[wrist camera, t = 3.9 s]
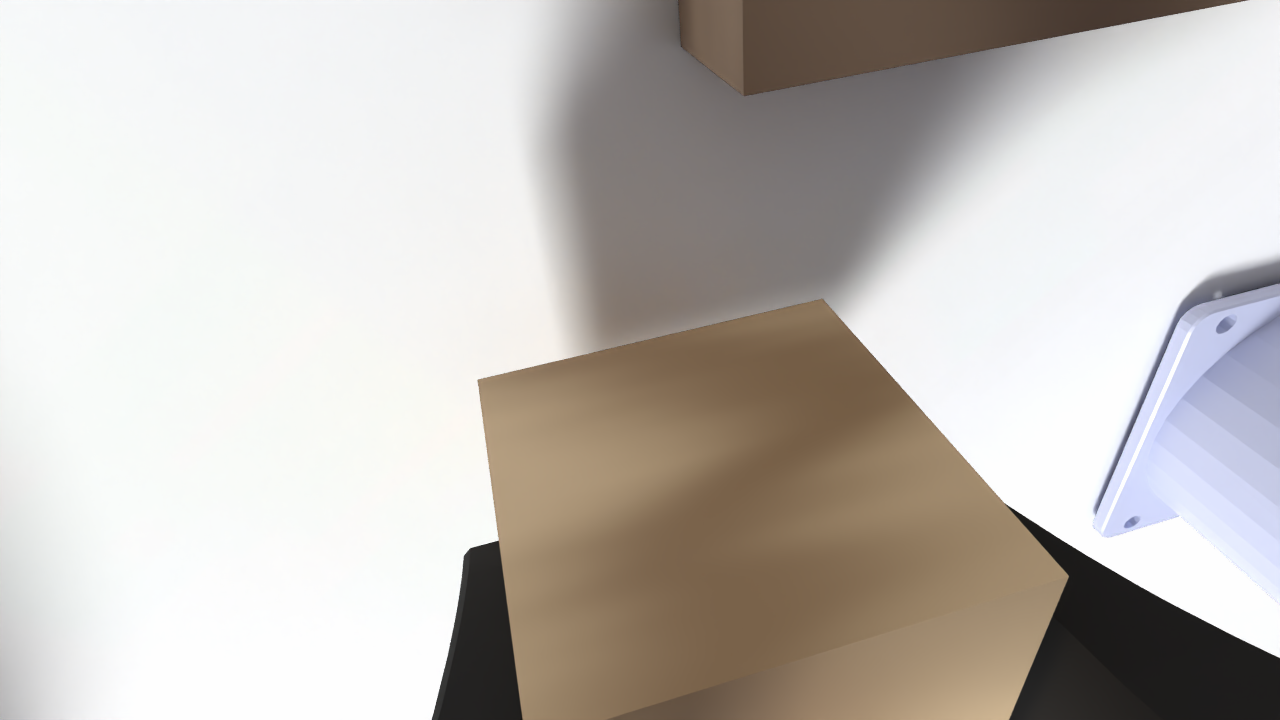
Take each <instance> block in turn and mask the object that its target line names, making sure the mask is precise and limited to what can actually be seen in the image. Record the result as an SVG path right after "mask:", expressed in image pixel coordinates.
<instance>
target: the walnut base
mask: <svg viewBox="0 0 1280 720" xmlns="http://www.w3.org/2000/svg"><path fill="white" fill-rule="evenodd" d="M1241 1H1247V0H678V5H679V21H680V38H681V47H682V48H683V49H684V50H686V51H687V52H688V53H690V54H691V55H692V56H693V57H695V58H696V59H697V60H698V61H700V62H701V63H702V64H703V65H705V66H706V67H707V68H709V69H710V70H711V71H712V72H714V73H715V74H716V75H717V76H719V77H720V78H721V79H722V80H724V81H725V82H726V83H728V84H729V85H730V86H731V87H733V88H734V89H735V90H736V91H738V92H739V93H740V94H741V95H743V96H747V95H753V94H758V93H763V92H769V91H774V90H779V89H784V88H790V87H795V86H800V85H805V84H811V83H816V82H821V81H826V80H832V79H837V78H842V77H847V76H853V75H858V74H863V73H868V72H874V71H879V70H884V69H889V68H895V67H900V66H905V65H910V64H916V63H921V62H926V61H931V60H937V59H942V58H947V57H952V56H958V55H963V54H968V53H973V52H979V51H984V50H989V49H994V48H1000V47H1005V46H1010V45H1016V44H1021V43H1026V42H1031V41H1037V40H1042V39H1047V38H1052V37H1058V36H1063V35H1068V34H1073V33H1079V32H1084V31H1089V30H1094V29H1100V28H1105V27H1110V26H1115V25H1121V24H1126V23H1131V22H1136V21H1142V20H1147V19H1152V18H1157V17H1163V16H1168V15H1173V14H1178V13H1184V12H1189V11H1194V10H1199V9H1205V8H1210V7H1215V6H1220V5H1226V4H1231V3H1236V2H1241Z"/></svg>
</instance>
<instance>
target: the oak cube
mask: <svg viewBox="0 0 1280 720" xmlns="http://www.w3.org/2000/svg"><path fill="white" fill-rule="evenodd" d="M478 386H479V394H480V401H481V409H482V417H483V424H484V432H485V439H486V447H487V454H488V462H489V469H490V477H491V484H492V492H493V500H494V507H495V515H496V522H497V530H498V537H499V545H500V552H501V560H502V568H503V575H504V583H505V590H506V598H507V605H508V613H509V620H510V628H511V635H512V643H513V651H514V658H515V666H516V673H517V681H518V688H519V696H520V703H521V711H522V719H523V720H1009V718H1010V716H1011V713H1012V711H1013V709H1014V706H1015V704H1016V702H1017V699H1018V697H1019V694H1020V692H1021V690H1022V687H1023V685H1024V682H1025V680H1026V678H1027V675H1028V673H1029V671H1030V668H1031V666H1032V663H1033V661H1034V659H1035V656H1036V654H1037V651H1038V649H1039V647H1040V644H1041V642H1042V640H1043V637H1044V635H1045V632H1046V630H1047V628H1048V625H1049V623H1050V620H1051V618H1052V616H1053V613H1054V611H1055V608H1056V606H1057V604H1058V601H1059V599H1060V597H1061V594H1062V592H1063V589H1064V587H1065V585H1066V582H1067V580H1068V577H1069V576H1068V574H1067V573H1066V572H1065V571H1064V570H1063V569H1062V568H1061V567H1060V565H1059V564H1058V563H1057V562H1056V561H1055V560H1054V559H1053V558H1052V556H1051V555H1050V554H1049V553H1048V552H1047V551H1046V550H1045V549H1044V547H1043V546H1042V545H1041V544H1040V543H1039V542H1038V541H1037V540H1036V538H1035V537H1034V536H1033V535H1032V534H1031V533H1030V532H1029V531H1028V529H1027V528H1026V527H1025V526H1024V525H1023V524H1022V523H1021V522H1020V520H1019V519H1018V518H1017V517H1016V516H1015V515H1014V514H1013V513H1012V511H1011V510H1010V509H1009V508H1008V507H1007V506H1006V505H1005V504H1004V502H1003V501H1002V500H1001V499H1000V498H999V497H998V496H997V495H996V493H995V492H994V491H993V490H992V489H991V488H990V487H989V486H988V484H987V483H986V482H985V481H984V480H983V479H982V478H981V477H980V475H979V474H978V473H977V472H976V471H975V470H974V469H973V468H972V466H971V465H970V464H969V463H968V462H967V461H966V460H965V459H964V457H963V456H962V455H961V454H960V453H959V452H958V451H957V450H956V448H955V447H954V446H953V445H952V444H951V443H950V442H949V441H948V439H947V438H946V437H945V436H944V435H943V434H942V433H941V432H940V430H939V429H938V428H937V427H936V426H935V425H934V424H933V423H932V421H931V420H930V419H929V418H928V417H927V416H926V415H925V414H924V412H923V411H922V410H921V409H920V408H919V407H918V406H917V405H916V403H915V402H914V401H913V400H912V399H911V398H910V397H909V396H908V394H907V393H906V392H905V391H904V390H903V389H902V388H901V387H900V385H899V384H898V383H897V382H896V381H895V380H894V379H893V378H892V376H891V375H890V374H889V373H888V372H887V371H886V370H885V369H884V367H883V366H882V365H881V364H880V363H879V362H878V361H877V360H876V358H875V357H874V356H873V355H872V354H871V353H870V352H869V351H868V349H867V348H866V347H865V346H864V345H863V344H862V343H861V342H860V340H859V339H858V338H857V337H856V336H855V335H854V334H853V333H852V331H851V330H850V329H849V328H848V327H847V326H846V325H845V324H844V322H843V321H842V320H841V319H840V318H839V317H838V316H837V315H836V313H835V312H834V311H833V310H832V309H831V308H830V307H829V306H828V304H827V303H826V302H825V301H824V300H823V299H819V300H815V301H811V302H807V303H802V304H798V305H794V306H790V307H785V308H781V309H777V310H773V311H768V312H764V313H760V314H756V315H751V316H747V317H743V318H738V319H734V320H730V321H726V322H721V323H717V324H713V325H709V326H704V327H700V328H696V329H692V330H687V331H683V332H679V333H675V334H670V335H666V336H662V337H658V338H653V339H649V340H645V341H641V342H636V343H632V344H628V345H624V346H619V347H615V348H611V349H606V350H602V351H598V352H594V353H589V354H585V355H581V356H577V357H572V358H568V359H564V360H560V361H555V362H551V363H547V364H543V365H538V366H534V367H530V368H526V369H521V370H517V371H513V372H509V373H504V374H500V375H496V376H491V377H487V378H483V379H479V380H478Z"/></svg>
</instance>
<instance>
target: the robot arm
mask: <svg viewBox="0 0 1280 720" xmlns="http://www.w3.org/2000/svg"><path fill="white" fill-rule="evenodd" d="M1004 504H1005V503H1004ZM1005 505H1006V504H1005ZM1006 506H1007V507H1008V508H1009V509H1010V510H1011V511H1012V513H1013V514H1014V515H1015V516H1016V517H1017V518H1018V519H1019V520H1020V522H1021V523H1022V524H1023V525H1024V526H1025V527H1026V528H1027V529H1028V531H1029V532H1030V533H1031V534H1032V535H1033V536H1034V537H1035V538H1036V540H1037V541H1038V542H1039V543H1040V544H1041V545H1042V546H1043V547H1044V549H1045V550H1046V551H1047V552H1048V553H1049V554H1050V555H1051V556H1052V558H1053V559H1054V560H1055V561H1056V562H1057V563H1058V564H1059V565H1060V567H1061V568H1062V569H1063V570H1064V571H1065V572H1066V573H1067V574H1068V576H1069V577H1068V580H1067V582H1066V585H1065V587H1064V589H1063V592H1062V594H1061V597H1060V599H1059V601H1058V604H1057V606H1056V608H1055V611H1054V613H1053V616H1052V618H1051V620H1050V623H1049V625H1048V628H1047V630H1046V632H1045V635H1044V637H1043V640H1042V642H1041V644H1040V647H1039V649H1038V651H1037V654H1036V656H1035V659H1034V661H1033V663H1032V666H1031V668H1030V671H1029V673H1028V675H1027V678H1026V680H1025V682H1024V685H1023V687H1022V690H1021V692H1020V694H1019V697H1018V699H1017V702H1016V704H1015V706H1014V709H1013V711H1012V713H1011V716H1010V718H1009V720H1280V658H1279V657H1276V656H1274V655H1272V654H1270V653H1268V652H1266V651H1264V650H1262V649H1260V648H1257V647H1255V646H1253V645H1251V644H1249V643H1247V642H1245V641H1243V640H1241V639H1239V638H1237V637H1235V636H1233V635H1231V634H1229V633H1227V632H1225V631H1223V630H1221V629H1219V628H1217V627H1215V626H1213V625H1211V624H1209V623H1207V622H1205V621H1204V620H1202V619H1200V618H1198V617H1196V616H1194V615H1192V614H1190V613H1188V612H1186V611H1184V610H1182V609H1180V608H1178V607H1176V606H1174V605H1172V604H1171V603H1169V602H1167V601H1165V600H1163V599H1161V598H1160V597H1158V596H1156V595H1154V594H1152V593H1150V592H1149V591H1147V590H1145V589H1143V588H1141V587H1140V586H1138V585H1136V584H1134V583H1133V582H1131V581H1129V580H1127V579H1126V578H1124V577H1122V576H1121V575H1119V574H1117V573H1116V572H1114V571H1112V570H1110V569H1109V568H1107V567H1105V566H1104V565H1102V564H1100V563H1098V562H1097V561H1095V560H1093V559H1092V558H1090V557H1088V556H1086V555H1085V554H1083V553H1082V552H1080V551H1078V550H1077V549H1075V548H1073V547H1072V546H1070V545H1069V544H1067V543H1065V542H1064V541H1062V540H1060V539H1059V538H1057V537H1056V536H1054V535H1053V534H1051V533H1049V532H1048V531H1046V530H1045V529H1043V528H1042V527H1040V526H1039V525H1037V524H1036V523H1034V522H1032V521H1031V520H1029V519H1028V518H1026V517H1025V516H1023V515H1022V514H1020V513H1018V512H1017V511H1015V510H1014V509H1012V508H1011V507H1009V506H1008V505H1006ZM1178 516H1180V517H1181V518H1182V519H1184V520H1185V521H1186V522H1187V523H1188V524H1189V525H1190V526H1191V527H1193V528H1194V529H1195V530H1196V531H1197V532H1198V533H1199V534H1200V535H1202V536H1203V537H1204V538H1205V539H1206V540H1207V541H1208V542H1209V543H1211V544H1212V545H1213V546H1214V547H1215V548H1216V549H1217V550H1218V551H1220V552H1221V553H1222V554H1223V555H1224V556H1225V557H1226V558H1228V559H1229V560H1230V561H1231V562H1232V563H1233V564H1234V565H1235V566H1237V567H1238V568H1239V569H1240V570H1241V571H1242V572H1243V573H1244V574H1246V575H1247V576H1248V577H1249V578H1250V579H1251V580H1252V581H1253V582H1255V583H1256V584H1257V585H1258V586H1259V587H1260V588H1261V589H1262V590H1264V591H1265V592H1266V593H1267V594H1268V595H1269V596H1270V597H1272V598H1273V599H1274V600H1275V601H1276V602H1277V603H1278V604H1279V605H1280V283H1279V284H1275V285H1271V286H1267V287H1264V288H1260V289H1256V290H1252V291H1248V292H1244V293H1240V294H1237V295H1233V296H1229V297H1225V298H1221V299H1217V300H1213V301H1210V302H1206V303H1202V304H1199V305H1197V306H1194V307H1193V308H1191V309H1190V310H1188V311H1187V312H1186V313H1185V314H1184V315H1183V316H1182V317H1181V318H1180V320H1179V322H1178V323H1177V325H1176V328H1175V330H1174V333H1173V335H1172V337H1171V340H1170V342H1169V344H1168V347H1167V349H1166V351H1165V354H1164V356H1163V358H1162V361H1161V363H1160V365H1159V368H1158V370H1157V372H1156V375H1155V377H1154V379H1153V382H1152V384H1151V387H1150V389H1149V391H1148V394H1147V396H1146V398H1145V401H1144V403H1143V405H1142V408H1141V410H1140V412H1139V415H1138V417H1137V419H1136V422H1135V424H1134V426H1133V429H1132V431H1131V433H1130V436H1129V438H1128V441H1127V443H1126V445H1125V448H1124V450H1123V452H1122V455H1121V457H1120V459H1119V462H1118V464H1117V466H1116V469H1115V471H1114V473H1113V476H1112V478H1111V480H1110V483H1109V485H1108V488H1107V490H1106V492H1105V495H1104V497H1103V499H1102V502H1101V504H1100V506H1099V509H1098V511H1097V513H1096V516H1095V518H1094V520H1093V528H1094V529H1095V530H1096V531H1097V532H1098V533H1099V534H1100V535H1101V536H1102V537H1113V536H1116V535H1120V534H1123V533H1126V532H1129V531H1133V530H1136V529H1139V528H1142V527H1146V526H1149V525H1152V524H1155V523H1159V522H1162V521H1165V520H1169V519H1172V518H1175V517H1178ZM432 720H523V719H522V711H521V703H520V696H519V688H518V681H517V673H516V666H515V658H514V651H513V643H512V635H511V628H510V620H509V613H508V605H507V598H506V590H505V583H504V575H503V568H502V560H501V552H500V545H499V541H496V542H492V543H488V544H484V545H481V546H477V547H473V548H470V549H469V550H468V552H467V553H466V554H465V555H464V560H463V572H462V580H461V588H460V595H459V601H458V607H457V613H456V618H455V623H454V628H453V633H452V638H451V643H450V648H449V653H448V657H447V661H446V665H445V669H444V673H443V677H442V681H441V685H440V689H439V694H438V698H437V702H436V706H435V710H434V714H433V717H432Z"/></svg>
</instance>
